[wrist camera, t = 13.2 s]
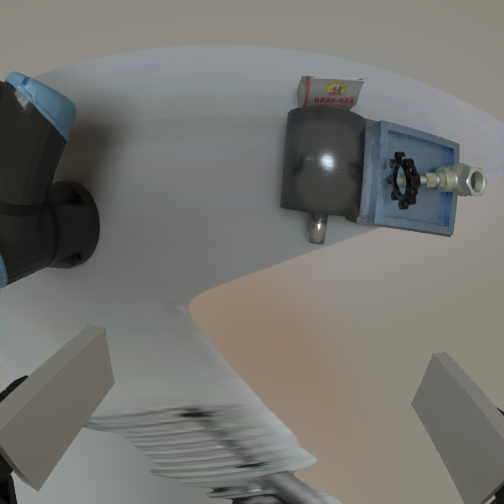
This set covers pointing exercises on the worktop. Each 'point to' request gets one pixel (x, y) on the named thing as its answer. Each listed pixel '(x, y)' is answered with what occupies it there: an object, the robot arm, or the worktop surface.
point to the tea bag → (329, 91)
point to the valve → (433, 180)
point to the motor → (362, 172)
